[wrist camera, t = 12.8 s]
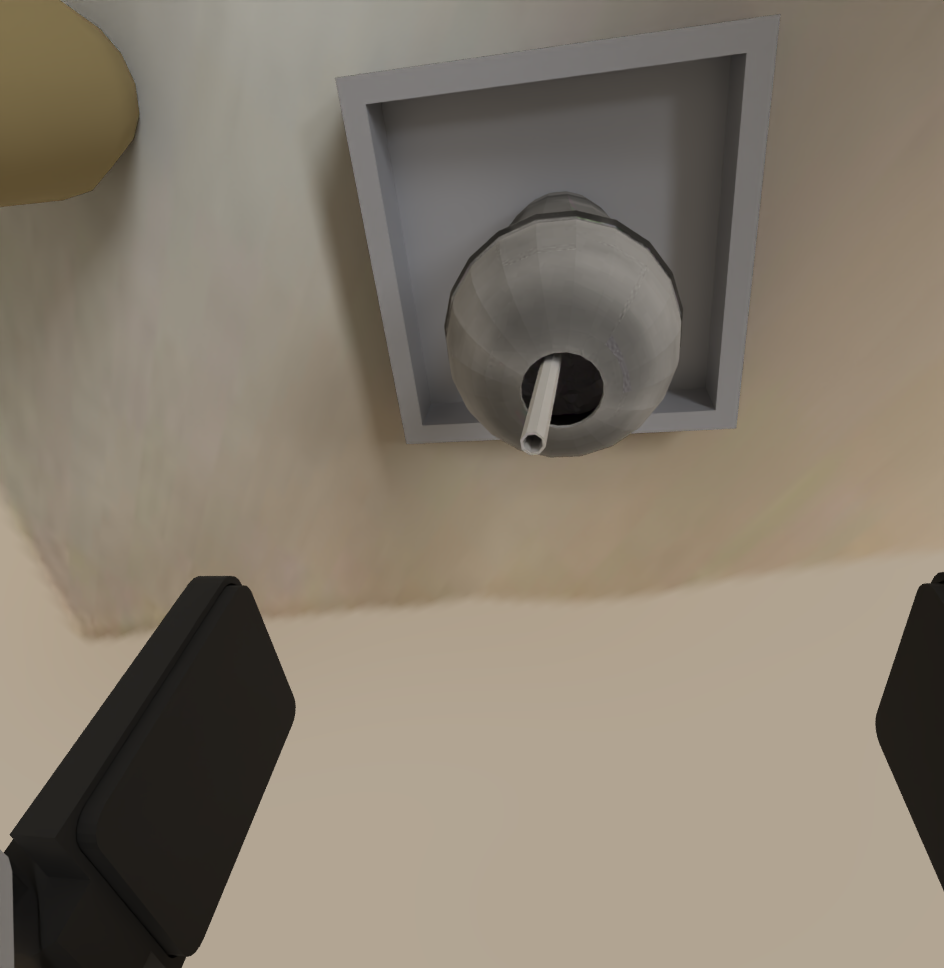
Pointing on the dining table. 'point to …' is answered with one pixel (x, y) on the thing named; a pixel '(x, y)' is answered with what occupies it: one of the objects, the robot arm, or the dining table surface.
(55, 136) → the squeeze bottle
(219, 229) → the dining table surface
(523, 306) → the beverage cup
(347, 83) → the tray
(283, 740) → the robot arm
